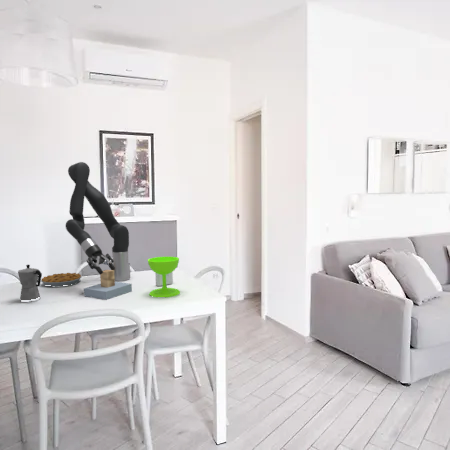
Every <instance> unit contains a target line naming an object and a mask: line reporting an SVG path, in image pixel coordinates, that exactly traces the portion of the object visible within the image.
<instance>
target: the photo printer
mask: <svg viewBox="0 0 450 450" xmlns="http://www.w3.org/2000/svg"><path fill="white" fill-rule="evenodd" d="M154 274H155V285H156V286H157V287H163V282H162V275H160V274H157V273H155V272H154ZM173 275H174V274H173V272H171V273H169V274H166V286H167V285H171V284H173V283H174V279H173V278H174V277H173Z"/></svg>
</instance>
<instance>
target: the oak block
mask: <svg viewBox="0 0 450 450" xmlns="http://www.w3.org/2000/svg"><path fill="white" fill-rule="evenodd" d="M102 271H103V273H102V274H99V275H100V279H99V280H100V284H101V287H107V288H108V287H111V286H115V282H116V281H115V277H114V270H111V269H105V270H102Z"/></svg>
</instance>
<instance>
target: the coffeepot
mask: <svg viewBox="0 0 450 450" xmlns="http://www.w3.org/2000/svg"><path fill="white" fill-rule="evenodd" d="M25 266H26V268H23V269H19V270H18V271H17V274H18V278H19V283H20V285H21V289H20V299H21V300H31V299H36V298H38V297H40V298H41V295H40V291H39V287H40V286H41V283H42V282H41V280H42V278H43V277H42V275H43V273H42V272H41V271H40V270H39V268H32V267H31V264H26V265H25ZM20 299H19V300H20Z"/></svg>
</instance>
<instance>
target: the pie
mask: <svg viewBox="0 0 450 450" xmlns="http://www.w3.org/2000/svg"><path fill="white" fill-rule="evenodd" d="M81 278H82V275H81V274H80V272H78V273H76V272H72V273H71V272H66V273H54V274H52V275H49V274H48V275H47V276H43V277H41V282H40V283H42V284H43V285H51V286H63V285H70V286H72V285H71V284H74V285H76V284H75V283H77V284H78V283H79V282H80V280H81Z"/></svg>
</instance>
